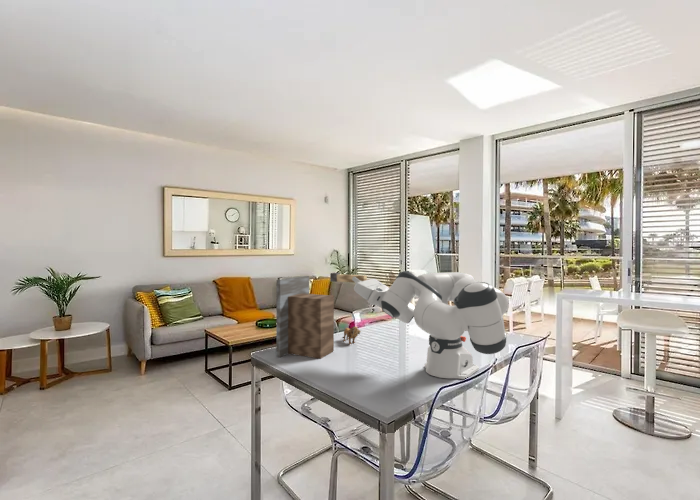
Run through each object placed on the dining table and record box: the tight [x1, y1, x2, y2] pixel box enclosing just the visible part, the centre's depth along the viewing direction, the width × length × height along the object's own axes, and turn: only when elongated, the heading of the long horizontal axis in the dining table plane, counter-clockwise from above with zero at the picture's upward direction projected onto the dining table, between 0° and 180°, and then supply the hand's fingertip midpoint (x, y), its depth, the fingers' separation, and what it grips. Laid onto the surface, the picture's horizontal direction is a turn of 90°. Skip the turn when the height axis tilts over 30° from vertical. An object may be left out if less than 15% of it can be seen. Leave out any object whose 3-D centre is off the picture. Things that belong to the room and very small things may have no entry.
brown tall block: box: [276, 275, 335, 359], centre depth 171 cm, size 19×24×34 cm
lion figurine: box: [341, 326, 362, 345], centre depth 189 cm, size 15×5×9 cm, turn 33°
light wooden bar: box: [329, 272, 368, 284], centre depth 162 cm, size 16×4×4 cm, turn 65°
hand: (355, 277), depth 161 cm, fingers closed on light wooden bar, 3 cm apart
